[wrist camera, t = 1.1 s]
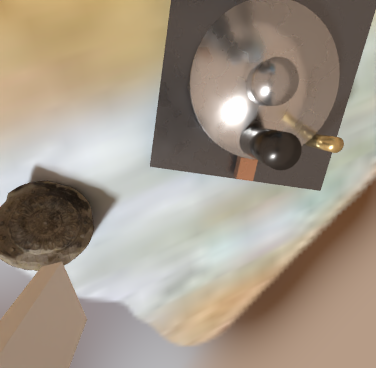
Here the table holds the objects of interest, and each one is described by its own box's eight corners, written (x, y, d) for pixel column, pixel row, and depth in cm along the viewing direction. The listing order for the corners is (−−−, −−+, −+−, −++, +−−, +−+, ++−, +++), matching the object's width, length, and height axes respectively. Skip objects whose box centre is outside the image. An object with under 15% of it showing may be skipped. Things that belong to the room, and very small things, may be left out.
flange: (203, -14, 26) (222, -76, 17) (350, 19, 28) (433, -21, 19) (175, 167, 31) (179, 190, 22) (303, 185, 33) (353, 213, 24)
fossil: (97, 177, 33) (79, 247, 26) (105, 223, 39) (93, 289, 32) (3, 175, 32) (-44, 248, 24) (27, 223, 38) (-4, 292, 31)
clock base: (176, -41, 28) (180, -89, 21) (365, 4, 30) (422, -25, 24) (150, 163, 33) (147, 176, 27) (312, 186, 36) (345, 203, 29)
